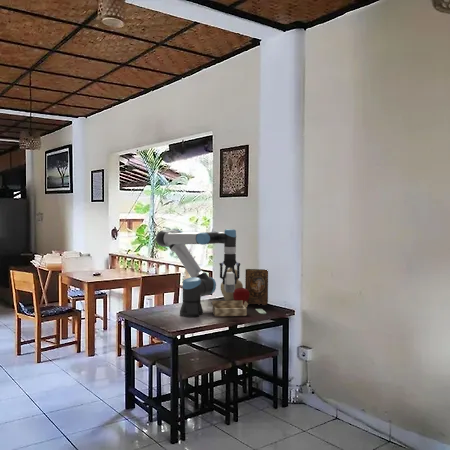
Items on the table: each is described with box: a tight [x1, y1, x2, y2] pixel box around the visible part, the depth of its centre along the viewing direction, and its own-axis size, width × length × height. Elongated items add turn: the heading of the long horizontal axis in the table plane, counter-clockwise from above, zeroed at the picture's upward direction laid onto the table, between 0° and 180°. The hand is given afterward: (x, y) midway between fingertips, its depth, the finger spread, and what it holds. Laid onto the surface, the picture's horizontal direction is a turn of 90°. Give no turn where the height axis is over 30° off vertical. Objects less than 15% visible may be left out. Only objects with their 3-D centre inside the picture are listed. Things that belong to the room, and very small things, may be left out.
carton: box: [210, 300, 249, 317], centre depth 314 cm, size 23×13×8 cm, turn 99°
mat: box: [255, 308, 267, 315], centre depth 325 cm, size 12×12×1 cm
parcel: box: [225, 272, 235, 292], centre depth 313 cm, size 5×7×12 cm
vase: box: [220, 268, 244, 301], centre depth 362 cm, size 17×17×30 cm
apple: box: [233, 287, 250, 305], centre depth 346 cm, size 12×12×13 cm
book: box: [244, 268, 269, 306], centre depth 352 cm, size 16×6×25 cm, turn 84°
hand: (229, 289), depth 313 cm, fingers closed on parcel, 5 cm apart
